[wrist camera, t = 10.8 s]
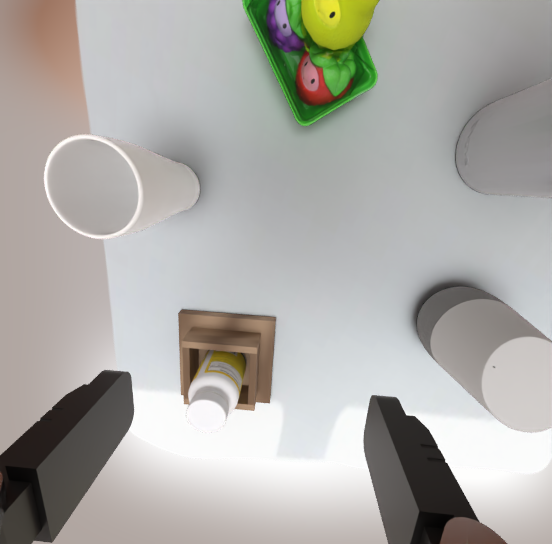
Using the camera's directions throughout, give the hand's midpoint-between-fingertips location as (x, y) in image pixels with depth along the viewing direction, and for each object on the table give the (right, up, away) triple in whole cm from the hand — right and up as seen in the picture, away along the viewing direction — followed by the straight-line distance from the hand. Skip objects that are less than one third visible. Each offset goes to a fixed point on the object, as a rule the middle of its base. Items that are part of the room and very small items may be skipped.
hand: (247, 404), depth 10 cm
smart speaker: (+22, -1, +26) cm, 34 cm away
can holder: (-5, -7, +29) cm, 31 cm away
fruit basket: (+5, +25, +20) cm, 33 cm away
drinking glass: (-10, +14, +24) cm, 30 cm away
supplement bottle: (-5, -7, +28) cm, 30 cm away
